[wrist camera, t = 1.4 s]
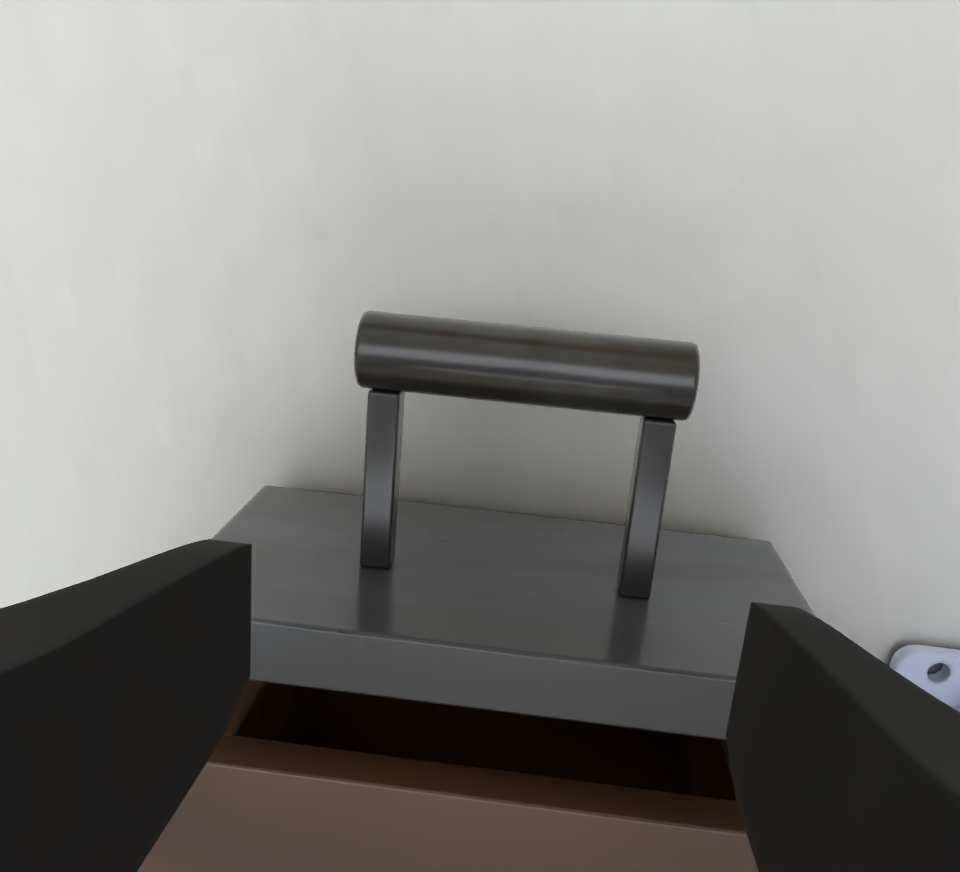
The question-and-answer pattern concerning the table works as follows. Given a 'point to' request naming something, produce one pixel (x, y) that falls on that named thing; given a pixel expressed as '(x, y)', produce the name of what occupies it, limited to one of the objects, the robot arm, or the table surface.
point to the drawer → (504, 585)
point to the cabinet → (431, 819)
